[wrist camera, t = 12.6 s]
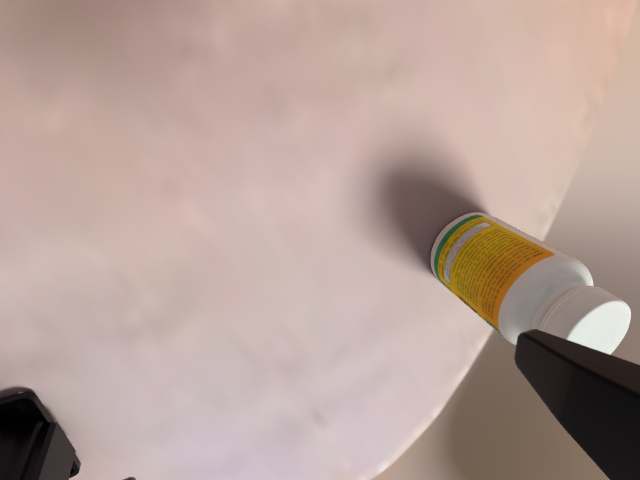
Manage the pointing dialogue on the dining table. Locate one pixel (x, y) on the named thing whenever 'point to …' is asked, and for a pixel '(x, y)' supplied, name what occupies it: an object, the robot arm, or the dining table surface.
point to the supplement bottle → (525, 284)
